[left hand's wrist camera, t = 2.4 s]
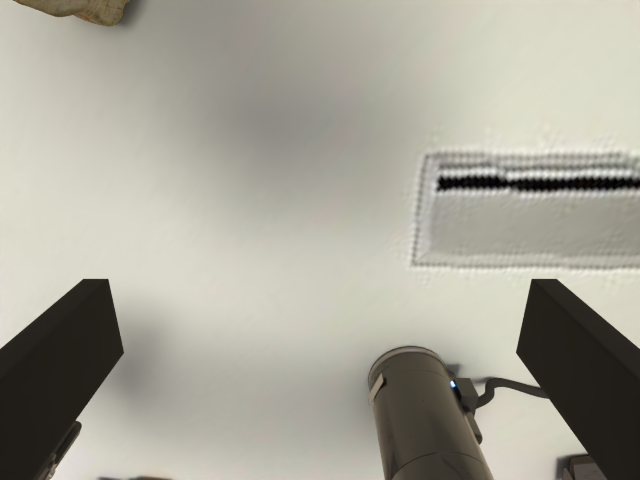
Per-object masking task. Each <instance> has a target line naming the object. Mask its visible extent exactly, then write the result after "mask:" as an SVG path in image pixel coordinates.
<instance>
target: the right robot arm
mask: <svg viewBox="0 0 640 480" xmlns="http://www.w3.org/2000/svg"><path fill="white" fill-rule="evenodd" d="M497 387H508V388H512V389H515V390H518V391H521V392H524V393H527V394H530V395H533V396H537V397H541V398H547V399H549V398H548V397H547V395H546V394H545V392H544V391H543V390H542V389H539V388H536V387H532V386H529V385H526V384H523V383H519V382H515V381H511V380H507V379H503V378H496V379H491V380H489V381H488V382H487V383H486V385H485V393H484V394H483V395H481V396H479V397H478V394H477V392H476V390H475V388H474V386H473V384H472V382H471V380H470V378H456V377H455V375H454V373H452V372H450V371H448V370H447V368H446V366H445V364H444V362H443V361H442V360H441V358H440V357H439V356H437V355H436V354H435V353H433V352H431V351H429V350H426V349H423V348H418V347H404V348H399V349H396V350H393V351H391V352H389V353H387V354H385V355H384V356H382V357H381V358H380V359H379V360H378V361H377V362H376V363H375V364H374V366H373V367H372V369H371V371H370V374H369V389H370V394H369V396H368V400H369V405H370V403H371V401H372V403H373V409H374V416H375V422H376V428H377V434H378V440H379V446H380V452H381V458H382V464H383V471H384V477H385V480H494V478H493V476H492V474H491V472H490V470H489V467H488V465H487V463H486V460H485V458H484V456H483V453H482V451H481V449H480V446H479V445H480V444H481V442H482V434H481V432H480V430H479V428H478V426H477V424H476V421H475V419H474V415H475V410H476V409H477V408H479V407H481V406H484V405H485V404H487V403H488V402H490V401H491V400H492V399H493V397H494V388H497ZM81 427H82V425H81V423H80V422H78V421H75V422H74V423H73V424H72V426H71V427H70V429H69V430H68V431H67V433H66V434H65V435H64V437H63V438H62V440H61V441H60V442H59V444H58V445H57V447H56V448H55V449H54V451H53V452H52V454H51V455H50V456H49V458H48V459H47V461H46V462H45V463H44V465H43V466H42V467H41V469H40V470H39V472H38V473H37V474H36V476H35V477H34V479H33V480H50V479H51V478H52V477H53V475H54V473H55V469H56V467H57V466H58V464H59V463H60V461H61V460H62V459H63V457H64V456H65V454H66V453H67V451H68V450H69V448H70V447H71V445H72V444H73V442H74V441H75V439H76V438H77V436H78V435H79V433H80V430H81Z"/></svg>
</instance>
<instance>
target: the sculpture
mask: <svg viewBox="0 0 640 480" xmlns="http://www.w3.org/2000/svg"><path fill="white" fill-rule="evenodd" d="M14 1H16V2H17V3H19V4H22V5H25V6H28V7H31V8H34V9H36V10H39V11H42V12H44V13H47V14H50V15H52V16H55V17H65V16H70V15H74V16H76V17H79V18H81V19H83V20H86V21H89V22H92V23H95V24H99V25H103V26H113V25H115V24H117V23H118V22H119V21H120V19H121V18H122V16H123V12H122V11H123V9H124V6H125V4H126V3H128V2H130V1H131V0H14Z"/></svg>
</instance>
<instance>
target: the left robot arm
mask: <svg viewBox="0 0 640 480" xmlns="http://www.w3.org/2000/svg"><path fill="white" fill-rule="evenodd" d="M123 353H124V350H123V346H122V341H121V336H120V332H119V327H118V322H117V318H116V313H115V308H114V304H113V299H112V294H111V290H110V285H109V280H108V279H83V280H82V281H81V282H79V283H78V284H77V285H76V286H75V287H73V288H72V289H71V290H70V291H69V292H67V293H66V294H65V295H64V296H63V297H62V298H60V299H59V300H58V301H57V302H56V303H54V304H53V305H52V306H51V307H50V308H48V309H47V310H46V311H45V312H44V313H43V314H41V315H40V316H39V317H38V318H37V319H35V320H34V321H33V322H32V323H31V324H29V325H28V326H27V327H26V328H25V329H24V330H22V331H21V332H20V333H19V334H18V335H16V336H15V337H14V338H13V339H12V340H10V341H9V342H8V343H7V344H6V345H5V346H3V347H2V348H1V349H0V480H33V479H34V477H35V476H36V474H37V473H38V472H39V470H40V469H41V467H42V466H43V465H44V463H45V462H46V461H47V459H48V458H49V456H50V455H51V454H52V452H53V451H54V449H55V448H56V447H57V445H58V444H59V442H60V441H61V440H62V438H63V437H64V435H65V434H66V433H67V431H68V430H69V429H70V427H71V426H72V424H73V423H74V422H75V420H76V419H77V417H78V416H79V415H80V413H81V412H82V410H83V409H84V408H85V406H86V405H87V403H88V402H89V401H90V399H91V398H92V397H93V395H94V394H95V392H96V391H97V390H98V388H99V387H100V385H101V384H102V383H103V381H104V380H105V378H106V377H107V376H108V374H109V373H110V371H111V370H112V369H113V367H114V366H115V365H116V363H117V362H118V360H119V359H120V358H121V356H122V355H123ZM516 353H517V355H518V356H519V358H520V359H521V360H522V362H523V363H524V365H525V366H526V367H527V369H528V370H529V371H530V373H531V374H532V376H533V377H534V378H535V380H536V381H537V383H538V384H539V385H540V387H541V388H542V390H543V391H544V392H545V394H546V395H547V397H548V398H549V399H550V401H551V402H552V403H553V405H554V406H555V408H556V409H557V410H558V412H559V413H560V415H561V416H562V417H563V419H564V420H565V422H566V423H567V424H568V426H569V427H570V429H571V430H572V431H573V433H574V434H575V435H576V437H577V438H578V440H579V441H580V442H581V444H582V445H583V447H584V448H585V449H586V451H587V452H588V454H589V455H590V456H591V458H592V459H593V461H594V462H595V463H596V465H597V466H598V467H599V469H600V470H601V472H602V473H603V474H604V476H605V477H606V479H607V480H640V349H639V348H638V347H637V346H635V345H634V344H633V343H632V342H631V341H630V340H628V339H627V338H626V337H625V336H624V335H622V334H621V333H620V332H619V331H618V330H616V329H615V328H614V327H613V326H612V325H611V324H609V323H608V322H607V321H606V320H605V319H603V318H602V317H601V316H600V315H599V314H597V313H596V312H595V311H594V310H593V309H592V308H590V307H589V306H588V305H587V304H586V303H584V302H583V301H582V300H581V299H580V298H578V297H577V296H576V295H575V294H574V293H573V292H571V291H570V290H569V289H568V288H567V287H565V286H564V285H563V284H562V283H561V282H559V281H558V280H557V279H532V280H531V285H530V290H529V294H528V299H527V304H526V308H525V313H524V318H523V322H522V327H521V332H520V336H519V341H518V346H517V350H516Z"/></svg>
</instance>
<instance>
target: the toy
mask: <svg viewBox="0 0 640 480" xmlns="http://www.w3.org/2000/svg"><path fill="white" fill-rule="evenodd" d="M562 480H607V479H606V477H605V476H604V474H603V473H602V472H601V470H600V469H599V467H598V466H597V465H596V463H595V462H594V461H593V459H592V458H591V456H582V457H573V458H572V459H571V462H570V470H569V472H568V470H567V468H564V470H563V478H562Z"/></svg>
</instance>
